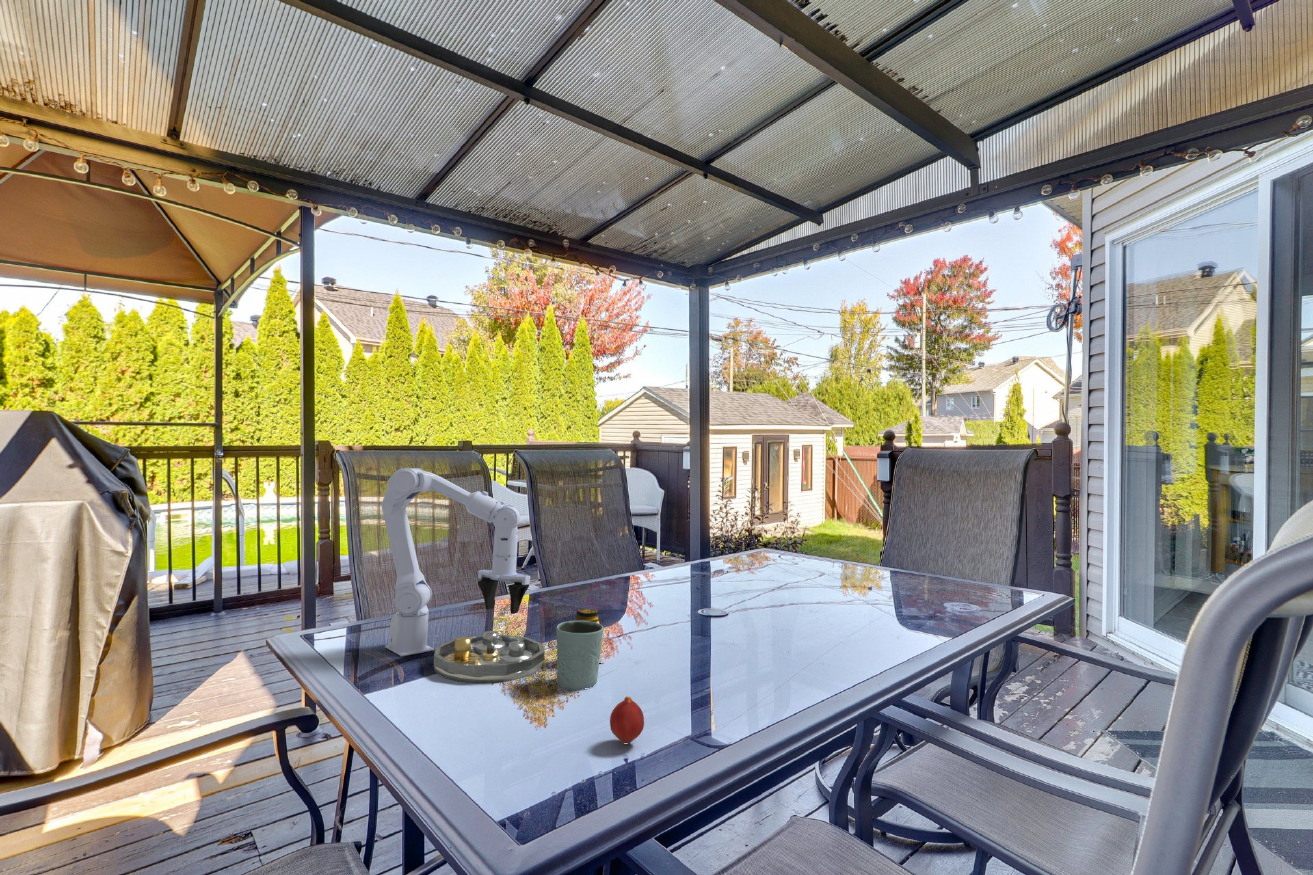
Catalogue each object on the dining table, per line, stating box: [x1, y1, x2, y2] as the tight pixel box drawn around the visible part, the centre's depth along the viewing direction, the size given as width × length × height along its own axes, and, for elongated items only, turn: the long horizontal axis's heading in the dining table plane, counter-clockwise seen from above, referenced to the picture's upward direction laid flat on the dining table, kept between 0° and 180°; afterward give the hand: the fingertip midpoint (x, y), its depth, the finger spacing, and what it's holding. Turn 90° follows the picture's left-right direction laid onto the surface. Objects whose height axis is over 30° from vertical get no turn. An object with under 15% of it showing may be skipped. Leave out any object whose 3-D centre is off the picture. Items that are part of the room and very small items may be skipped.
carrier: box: [433, 630, 546, 684], centre depth 143 cm, size 24×24×6 cm
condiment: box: [575, 607, 600, 624], centre depth 148 cm, size 7×8×12 cm
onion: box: [609, 695, 645, 744], centre depth 105 cm, size 6×6×8 cm
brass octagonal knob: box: [445, 636, 480, 665], centre depth 138 cm, size 7×7×6 cm
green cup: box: [556, 620, 604, 691], centre depth 133 cm, size 10×10×12 cm
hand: (501, 610), depth 153 cm, fingers open, 7 cm apart
